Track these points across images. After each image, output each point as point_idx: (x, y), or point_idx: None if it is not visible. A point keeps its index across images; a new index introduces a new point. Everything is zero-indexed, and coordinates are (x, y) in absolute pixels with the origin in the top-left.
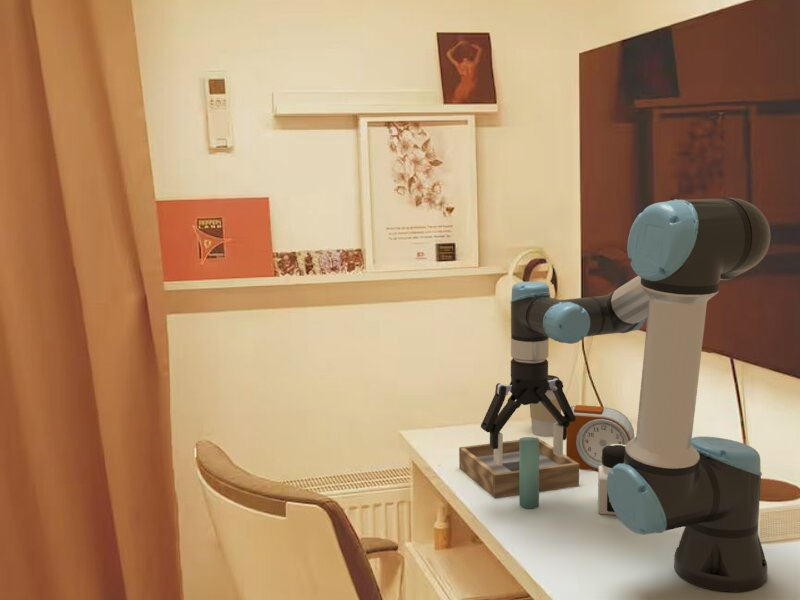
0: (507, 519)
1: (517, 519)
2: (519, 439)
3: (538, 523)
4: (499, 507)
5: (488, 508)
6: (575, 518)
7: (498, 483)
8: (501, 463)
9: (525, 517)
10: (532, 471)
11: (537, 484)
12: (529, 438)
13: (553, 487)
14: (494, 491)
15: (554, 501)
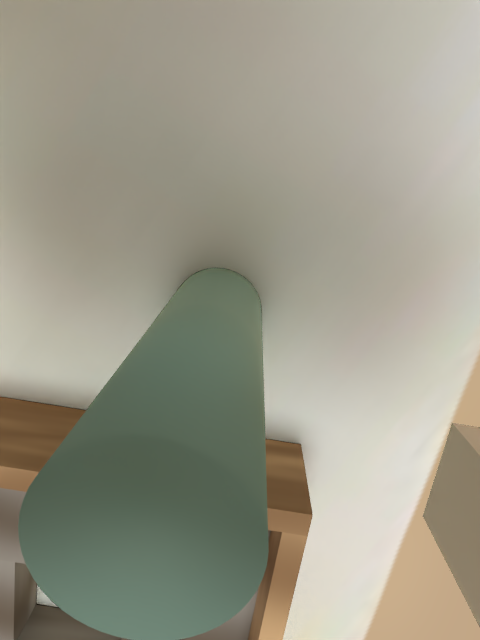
0: (405, 223)
1: (366, 198)
2: (239, 610)
3: (311, 102)
4: (347, 355)
5: (394, 370)
6: (113, 58)
7: (289, 481)
8: (468, 432)
9: (319, 199)
10: (211, 321)
11: (182, 296)
12: (109, 582)
13: (17, 405)
14: (302, 465)
15: (90, 289)
